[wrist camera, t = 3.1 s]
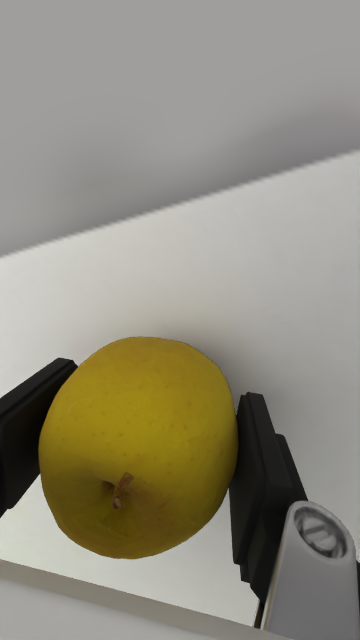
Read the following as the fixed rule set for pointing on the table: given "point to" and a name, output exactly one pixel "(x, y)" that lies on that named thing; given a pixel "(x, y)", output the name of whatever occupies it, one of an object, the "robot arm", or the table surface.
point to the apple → (139, 447)
